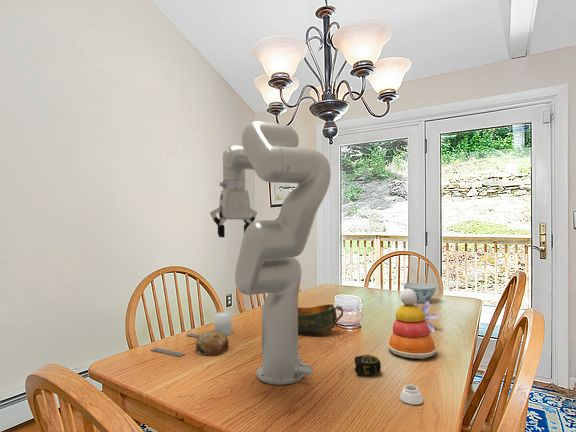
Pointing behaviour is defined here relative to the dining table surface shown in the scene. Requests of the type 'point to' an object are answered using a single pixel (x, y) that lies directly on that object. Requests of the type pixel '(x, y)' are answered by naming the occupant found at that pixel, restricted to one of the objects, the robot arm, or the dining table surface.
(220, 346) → the bread roll
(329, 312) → the creamer
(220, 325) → the cup
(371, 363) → the tape measure
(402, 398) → the white jar
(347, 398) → the dining table surface
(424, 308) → the water lily
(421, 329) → the stacking toy
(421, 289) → the chinaware
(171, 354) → the strip
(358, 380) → the dining table surface
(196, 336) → the bay strip right
